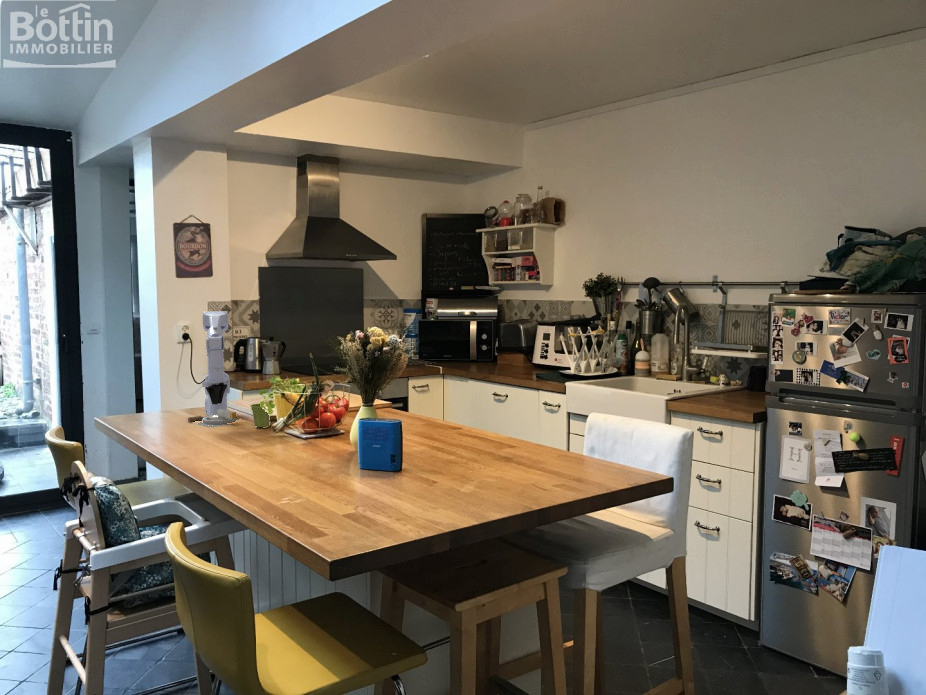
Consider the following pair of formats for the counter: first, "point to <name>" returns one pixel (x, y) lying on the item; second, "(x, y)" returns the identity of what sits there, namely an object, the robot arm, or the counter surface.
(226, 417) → the dial
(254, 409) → the plant pot
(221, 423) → the board
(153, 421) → the counter surface
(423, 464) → the counter surface
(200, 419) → the screwdriver
